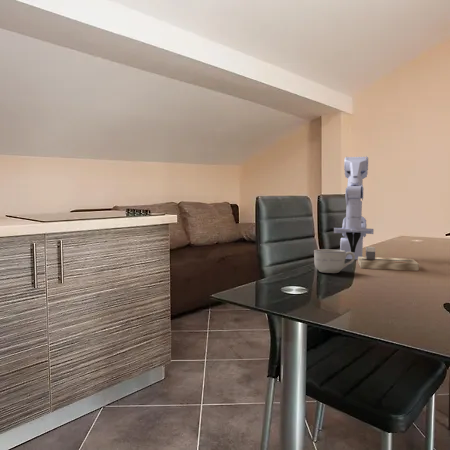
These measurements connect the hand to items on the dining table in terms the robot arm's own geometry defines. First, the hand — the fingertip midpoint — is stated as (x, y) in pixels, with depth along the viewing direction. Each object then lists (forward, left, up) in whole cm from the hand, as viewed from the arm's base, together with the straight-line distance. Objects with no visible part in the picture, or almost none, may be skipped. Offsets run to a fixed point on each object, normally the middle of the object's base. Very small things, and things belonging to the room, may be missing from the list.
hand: (352, 252), depth 156 cm
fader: (+7, 0, -2) cm, 7 cm away
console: (+13, 0, -5) cm, 14 cm away
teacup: (-7, -17, -5) cm, 19 cm away
